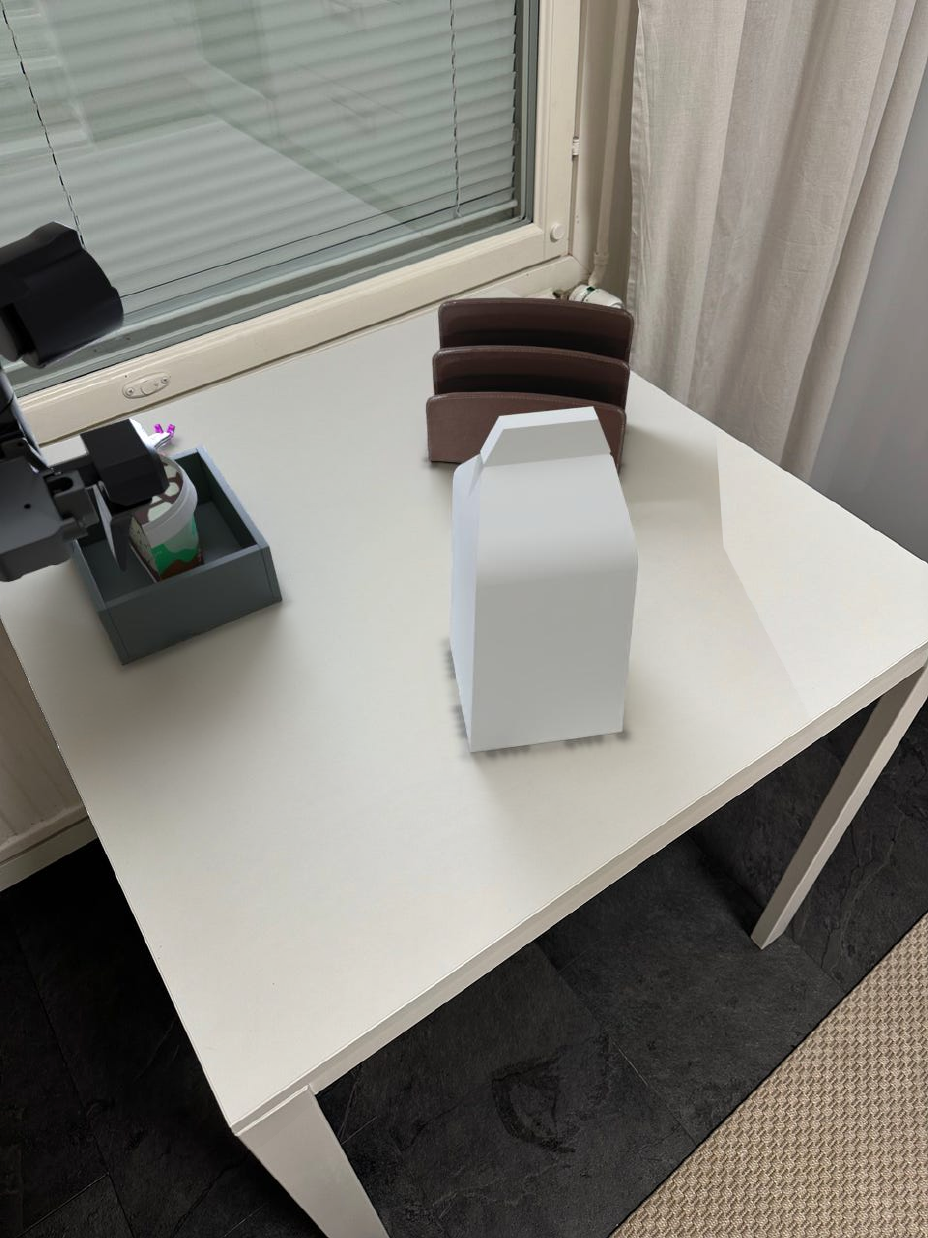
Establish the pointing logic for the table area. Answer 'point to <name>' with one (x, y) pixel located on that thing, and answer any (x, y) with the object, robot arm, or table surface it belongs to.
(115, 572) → the storage box
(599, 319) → the letter holder
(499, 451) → the milk
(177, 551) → the cake slice
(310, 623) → the table surface
